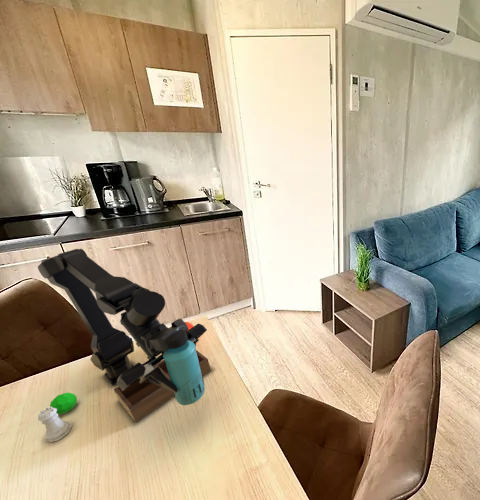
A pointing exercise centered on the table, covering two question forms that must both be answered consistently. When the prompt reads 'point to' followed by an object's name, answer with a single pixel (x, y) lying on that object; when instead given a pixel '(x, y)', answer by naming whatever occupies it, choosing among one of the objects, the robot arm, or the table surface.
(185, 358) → the beverage bottle
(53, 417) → the rook chess piece
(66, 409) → the polyhedron
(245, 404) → the table surface
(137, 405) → the divided wooden tray
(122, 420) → the table surface
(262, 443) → the table surface
